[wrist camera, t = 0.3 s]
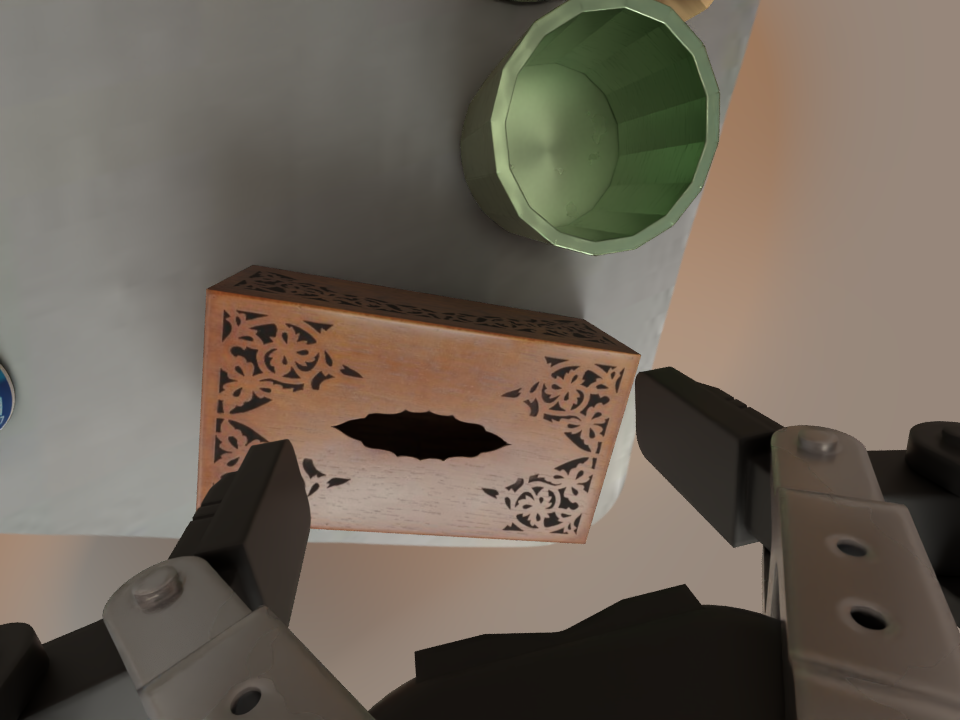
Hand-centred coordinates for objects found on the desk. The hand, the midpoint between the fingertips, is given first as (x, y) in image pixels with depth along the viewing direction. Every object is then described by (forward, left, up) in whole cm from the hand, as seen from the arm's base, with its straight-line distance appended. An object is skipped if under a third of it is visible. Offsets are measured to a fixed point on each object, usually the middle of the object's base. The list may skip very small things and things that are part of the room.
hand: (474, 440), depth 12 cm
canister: (-7, +11, -28) cm, 31 cm away
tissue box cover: (+9, -1, -29) cm, 30 cm away
